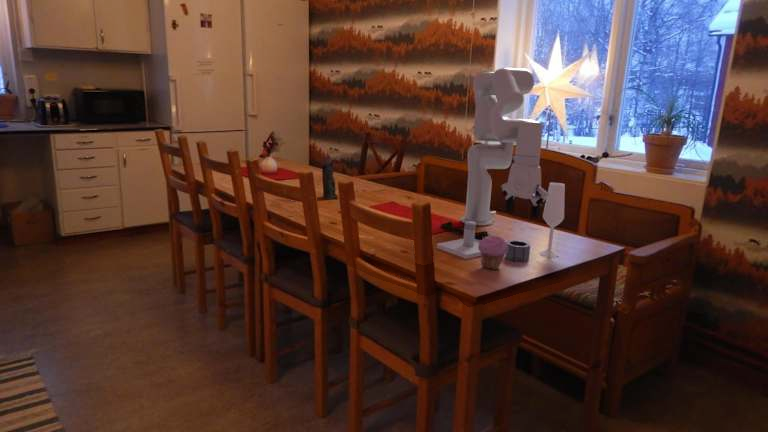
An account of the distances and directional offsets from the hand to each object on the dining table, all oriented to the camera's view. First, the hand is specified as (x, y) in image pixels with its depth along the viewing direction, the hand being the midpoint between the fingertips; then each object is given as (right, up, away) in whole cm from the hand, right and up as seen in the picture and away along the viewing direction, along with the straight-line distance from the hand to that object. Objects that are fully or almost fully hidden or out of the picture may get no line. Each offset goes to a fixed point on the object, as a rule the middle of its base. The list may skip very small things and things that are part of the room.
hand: (521, 214), depth 170 cm
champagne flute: (+12, -13, +9) cm, 20 cm away
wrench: (-13, -8, +28) cm, 32 cm away
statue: (-70, +8, +83) cm, 109 cm away
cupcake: (-11, -16, -6) cm, 20 cm away
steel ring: (-1, -14, +4) cm, 15 cm away
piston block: (-15, -12, +11) cm, 22 cm away
